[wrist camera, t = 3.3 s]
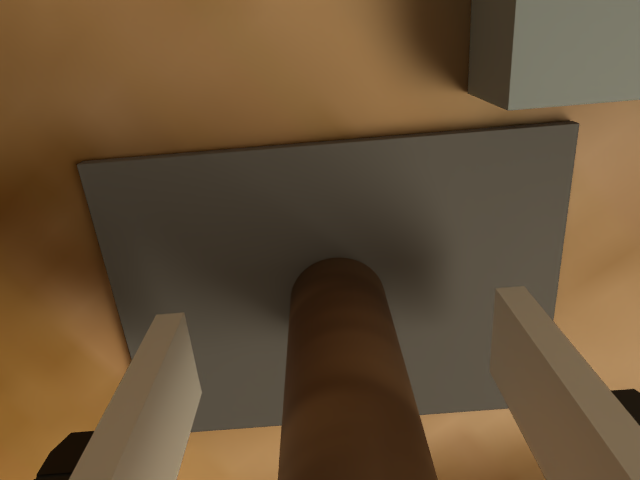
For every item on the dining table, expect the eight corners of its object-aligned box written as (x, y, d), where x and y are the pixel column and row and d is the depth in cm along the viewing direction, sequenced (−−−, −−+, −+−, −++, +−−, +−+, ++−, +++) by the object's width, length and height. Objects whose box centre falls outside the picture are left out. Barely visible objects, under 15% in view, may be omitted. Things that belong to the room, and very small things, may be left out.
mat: (155, 426, 18) (153, 434, 18) (82, 161, 14) (76, 164, 14) (537, 397, 18) (542, 405, 18) (572, 121, 14) (579, 123, 14)
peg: (295, 342, 16) (265, 1004, 5) (285, 261, 15) (222, 894, 4) (386, 335, 16) (547, 986, 5) (383, 253, 15) (585, 873, 4)
